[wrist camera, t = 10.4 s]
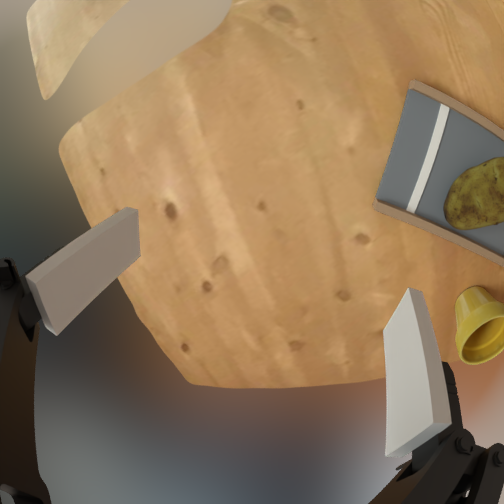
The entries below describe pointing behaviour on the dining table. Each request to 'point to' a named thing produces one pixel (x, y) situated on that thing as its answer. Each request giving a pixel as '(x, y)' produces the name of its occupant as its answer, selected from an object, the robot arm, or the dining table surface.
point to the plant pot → (479, 326)
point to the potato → (477, 196)
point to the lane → (438, 166)
